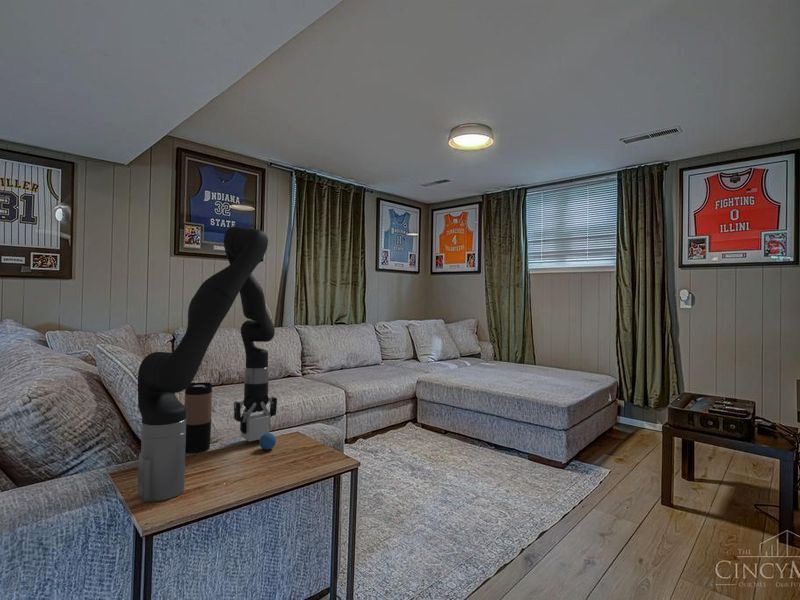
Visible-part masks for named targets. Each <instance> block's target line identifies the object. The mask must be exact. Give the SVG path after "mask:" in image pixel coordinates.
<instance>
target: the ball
mask: <svg viewBox="0 0 800 600" xmlns="http://www.w3.org/2000/svg"><path fill="white" fill-rule="evenodd" d="M258 441H259V442H258V444H259V447H260V448H261V449H262V450H266V451H269V450H272V449H273V448H274V447H276V443H277V438H276V436H275V435H274V434H273V433H271V432H269V433H266V434H264V435H262V436H261V438H260V439H259V440H258Z"/></svg>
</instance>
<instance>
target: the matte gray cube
mask: <svg viewBox="0 0 800 600" xmlns="http://www.w3.org/2000/svg"><path fill="white" fill-rule="evenodd" d="M246 422H247V424H246V434H243V433H242V432H241V431H240V437H241V438H243V439H244V440H246V441H247V442H252V441H259V440H260V438H261V436H262V435H264V434H266V433H270V426H271V418H270V417H269V416H267V415H265V414H263V412H255V413H251V415H250V416H249V417H248V418H247V420H246Z"/></svg>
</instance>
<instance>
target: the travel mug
mask: <svg viewBox="0 0 800 600" xmlns="http://www.w3.org/2000/svg"><path fill="white" fill-rule="evenodd" d="M212 394H213V384H212V383H211V382H191V384H190V385H189V386H188V387H187V388H186V389H184V406H185V407H186V445H185V454H200V453H204V452H207V451H209V450H210V446H211V431H212V409H213V408H212V404H213V403H212V402H213V401H212V400H213V399H212V397H213V395H212Z"/></svg>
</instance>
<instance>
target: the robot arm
mask: <svg viewBox="0 0 800 600" xmlns="http://www.w3.org/2000/svg"><path fill="white" fill-rule="evenodd" d="M268 245H269V237H268V235H267V233H266V232H265V231H264V230H261V229H258V228H252V227H246V226H239V225H238V226H237V225H234V226H233V225H232V226H230V227H228V228H227V230H226V231H225V233H224V237H223V247H224V251H225V255H226V257H227V260H228V263H229V265H228V266H227V267H225V268H222V269H221V270H220V271H218V272H216V273H214V274H213V275H211V276H209V277H208V278H207V279H206V280H204V282H202V284H201V285H200V286H199V288H198V289H197V291H196V293H195V294H194V296H193V297H192V298H191V300H190V302H189V304H188V310H187V328H186V330H185V334H184V336H183V337H182V339H181V341H180V342H179V343H178V345H177V346H176V348H175V349H174V350H173V351H172V352H170V351H169V352H167V351H155V352H151V353H149V354H148V355H146V356H145V357H144V358H143V359H142V361H141V363H140V364H139V368H138V373H137V404H138V405H137V406H138V410H139V413H140V414H141V439H140V441H141V443H140V447H141V448H140V452H139V454H138V470H137V474H138V475H137V495H138V497H139V499H140V501H141V502H142V503H147V502H159V501H167V500H171V499H173V498H175V497H178V496H179V495H181V494H182V493H183V492H184V491H185V478H186V477H185V474H186V452H185V445H186V407H185V404H183V403H182V402H181V401H180V400H179V399H178V398H177V395H176V394H177V393H181V392H183V391H185V389H186V388H187V387H188V386H189V385H190V384H191V383H193V381H194V379H195V377H196V375H197V373H198V371H199V368H200V367H201V364H202V362H203V360H204V357H205V355H206V352H207V351H208V348H209V346H210V345H211V343H212V342H213V338H214V337H215V335H216V334H217V332H218V329H219V328H220V326H221V325H222V322H223V321H224V320H225V318H226V316H227V314H228V313H229V311H230V309H231V308H232V307H233V304H234V302H235V300H236V298H237V296H238V295H239V296H240V300H241V306H242V307H241V309H242V313H243V316H244V317H245V318H246V319H248V320H245V321H244V322H243V323H242V325H241V326H240V336H241V339H242V343H243V348H244V351H245V352H244V354H245V370H244V379H243V381H244V385H243V386H244V387H243V388H244V389H243V400H242V401H241V400H240V401H234V402H233V416H234V420H235V421H236V422H239V428H240V429H239V431H240V433H241V432H242V433H243V434H246V424H247V422H246V420H247V418H248V417H249V416H250V415H251V414H255V413H263V414H265V415H267V416H269V417H270V419H271V418H272V417H275V416H276V415H277V408H278V398H277V397H275V396H271V397H269V373H270V372H269V351H268V350H267V349H265V348H262V347H258V346H256V345H255V342H256V343H257V342H259V343H268V342H271V341H272V340H273V338H274V337H275V332H276V330H275V326H274V323H273V321H272V319H271V317H270V316H269V312H268V311H267V306H266V300H265V294H264V291H263V290H264V289H262V286H261V284H260V283H259V282H258V280H257V279H256V278H255V277H256V276H255V275H254V274H253V272H254V270H255V269H256V267H257V266H258V265H259V263H260V262H261V260H262V259H263V257H264V256H265V254H266V252H267V249H268ZM268 403H269V409H268V408H267V405H268ZM243 407H244V409H243V412H241V409H242V408H243Z"/></svg>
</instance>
